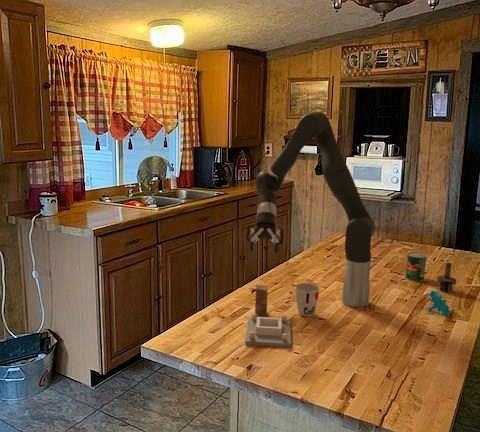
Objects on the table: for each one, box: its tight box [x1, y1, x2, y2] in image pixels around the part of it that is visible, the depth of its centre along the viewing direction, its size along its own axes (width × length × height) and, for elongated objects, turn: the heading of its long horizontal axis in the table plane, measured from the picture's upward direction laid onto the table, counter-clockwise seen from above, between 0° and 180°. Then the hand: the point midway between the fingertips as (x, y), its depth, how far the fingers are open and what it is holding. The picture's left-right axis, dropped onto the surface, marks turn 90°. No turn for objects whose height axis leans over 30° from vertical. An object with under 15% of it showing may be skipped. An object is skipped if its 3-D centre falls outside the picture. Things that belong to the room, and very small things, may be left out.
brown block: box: [254, 284, 269, 317], centre depth 175 cm, size 4×4×10 cm
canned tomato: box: [404, 251, 427, 283], centre depth 218 cm, size 8×8×11 cm
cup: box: [295, 282, 320, 317], centre depth 176 cm, size 8×8×10 cm
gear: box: [427, 290, 451, 317], centre depth 182 cm, size 11×6×10 cm
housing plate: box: [244, 313, 292, 348], centre depth 160 cm, size 14×18×4 cm
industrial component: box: [436, 261, 457, 294], centre depth 205 cm, size 9×7×12 cm
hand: (263, 252), depth 185 cm, fingers open, 8 cm apart
